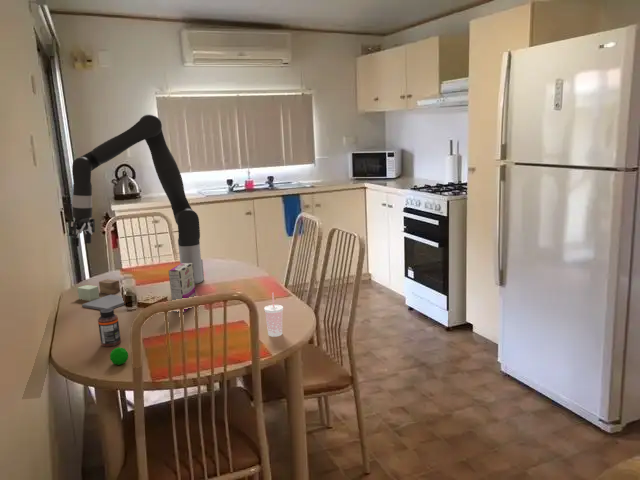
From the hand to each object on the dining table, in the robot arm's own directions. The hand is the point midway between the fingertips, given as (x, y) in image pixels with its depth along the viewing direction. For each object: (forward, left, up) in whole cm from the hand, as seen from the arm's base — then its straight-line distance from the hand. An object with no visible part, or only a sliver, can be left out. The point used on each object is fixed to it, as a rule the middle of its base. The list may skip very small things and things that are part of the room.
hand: (82, 244), depth 221 cm
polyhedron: (+45, +68, -22) cm, 85 cm away
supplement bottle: (+35, +53, -22) cm, 68 cm away
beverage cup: (+8, +98, -22) cm, 101 cm away
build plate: (+5, +18, -22) cm, 29 cm away
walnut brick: (-7, +5, -22) cm, 23 cm away
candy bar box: (-2, +51, -22) cm, 56 cm away
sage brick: (+3, +4, -22) cm, 23 cm away
